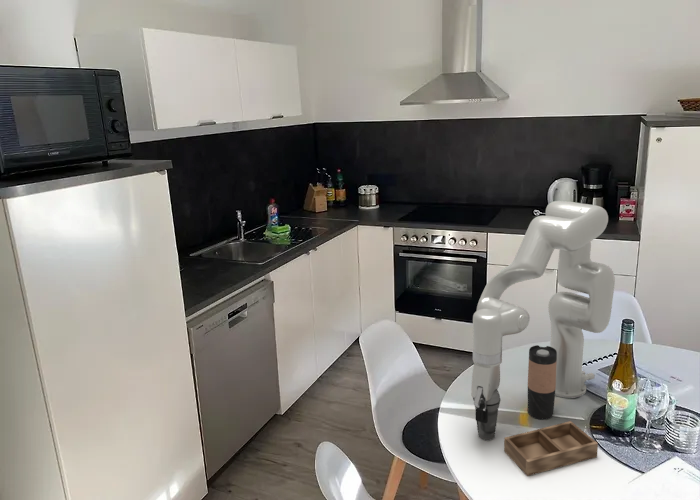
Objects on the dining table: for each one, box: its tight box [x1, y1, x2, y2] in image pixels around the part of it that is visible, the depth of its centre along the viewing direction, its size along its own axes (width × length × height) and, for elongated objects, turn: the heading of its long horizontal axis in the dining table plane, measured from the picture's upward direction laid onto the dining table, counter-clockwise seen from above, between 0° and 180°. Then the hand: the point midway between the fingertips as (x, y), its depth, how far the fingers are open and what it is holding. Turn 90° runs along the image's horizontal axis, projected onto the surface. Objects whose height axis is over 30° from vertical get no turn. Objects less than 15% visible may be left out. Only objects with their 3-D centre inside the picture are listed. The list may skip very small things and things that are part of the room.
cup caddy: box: [503, 420, 599, 477], centre depth 144 cm, size 20×11×4 cm, turn 106°
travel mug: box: [527, 345, 557, 420], centre depth 160 cm, size 8×8×20 cm
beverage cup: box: [472, 389, 502, 441], centre depth 151 cm, size 7×7×20 cm
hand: (486, 414), depth 152 cm, fingers closed on beverage cup, 6 cm apart
